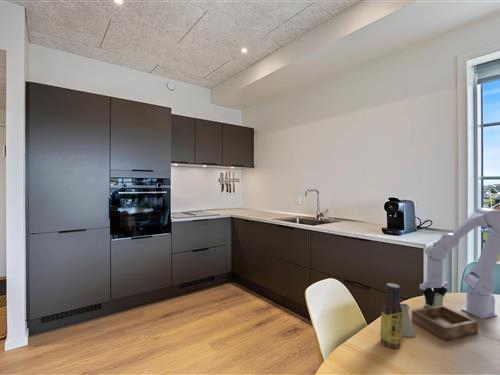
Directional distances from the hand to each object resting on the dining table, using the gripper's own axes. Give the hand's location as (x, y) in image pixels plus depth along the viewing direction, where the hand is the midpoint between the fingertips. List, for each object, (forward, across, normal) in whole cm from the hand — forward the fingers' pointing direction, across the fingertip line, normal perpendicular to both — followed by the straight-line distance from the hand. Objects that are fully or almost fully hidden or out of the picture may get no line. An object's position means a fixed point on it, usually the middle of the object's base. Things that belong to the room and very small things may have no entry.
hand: (433, 304), depth 114 cm
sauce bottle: (+2, +39, +15) cm, 42 cm away
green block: (+1, 0, 0) cm, 1 cm away
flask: (+2, +29, +11) cm, 31 cm away
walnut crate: (+1, +12, +13) cm, 18 cm away
